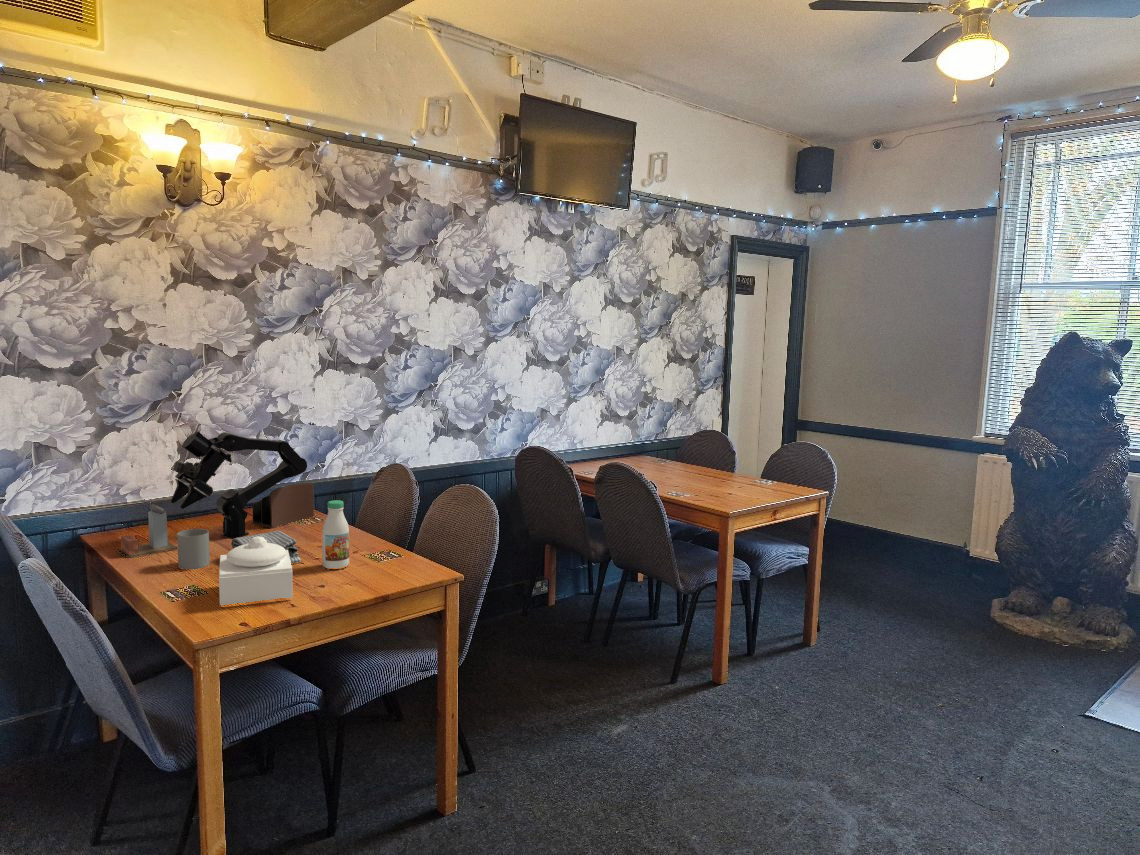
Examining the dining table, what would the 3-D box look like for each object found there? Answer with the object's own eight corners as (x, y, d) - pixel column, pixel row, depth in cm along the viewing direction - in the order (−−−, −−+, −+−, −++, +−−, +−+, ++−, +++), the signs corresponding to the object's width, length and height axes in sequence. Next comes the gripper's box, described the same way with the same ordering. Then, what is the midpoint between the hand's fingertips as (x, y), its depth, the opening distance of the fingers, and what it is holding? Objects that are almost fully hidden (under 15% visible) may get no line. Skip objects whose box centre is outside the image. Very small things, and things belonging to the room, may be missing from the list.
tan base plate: (166, 543, 250) (166, 528, 249) (177, 549, 244) (176, 534, 243) (120, 551, 240) (119, 535, 239) (130, 557, 234) (129, 541, 233)
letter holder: (314, 517, 288) (314, 480, 287) (271, 529, 271) (271, 489, 269) (295, 513, 293) (295, 477, 291) (252, 524, 276) (251, 486, 274)
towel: (278, 550, 248) (278, 526, 247) (302, 564, 234) (302, 539, 233) (229, 558, 238) (229, 533, 236) (251, 574, 224) (250, 547, 223)
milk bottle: (317, 568, 230) (316, 502, 227) (333, 561, 237) (332, 497, 235) (338, 572, 228) (338, 505, 225) (354, 564, 235) (354, 500, 232)
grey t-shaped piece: (160, 542, 248) (159, 503, 246) (170, 547, 242) (168, 507, 241) (147, 544, 245) (145, 504, 243) (156, 549, 239) (154, 509, 238)
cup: (174, 564, 229) (172, 532, 228) (202, 559, 235) (201, 527, 234) (185, 571, 223) (184, 538, 222) (214, 565, 229) (213, 533, 228)
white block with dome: (219, 608, 197) (218, 548, 195) (220, 586, 213) (219, 530, 211) (292, 601, 204) (292, 542, 202) (288, 579, 220) (287, 525, 218)
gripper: (178, 447, 254) (146, 486, 249) (198, 455, 241) (164, 497, 235) (206, 466, 261) (175, 504, 256) (226, 475, 248) (194, 516, 242)
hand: (176, 505), depth 247 cm, fingers open, 9 cm apart
